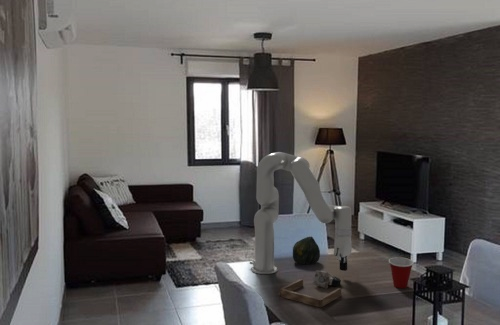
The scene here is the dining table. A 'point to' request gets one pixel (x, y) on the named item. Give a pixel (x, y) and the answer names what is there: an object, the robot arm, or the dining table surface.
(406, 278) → the plastic cup
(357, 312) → the dining table surface
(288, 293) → the walnut bay
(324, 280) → the caster wheel
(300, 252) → the squash
